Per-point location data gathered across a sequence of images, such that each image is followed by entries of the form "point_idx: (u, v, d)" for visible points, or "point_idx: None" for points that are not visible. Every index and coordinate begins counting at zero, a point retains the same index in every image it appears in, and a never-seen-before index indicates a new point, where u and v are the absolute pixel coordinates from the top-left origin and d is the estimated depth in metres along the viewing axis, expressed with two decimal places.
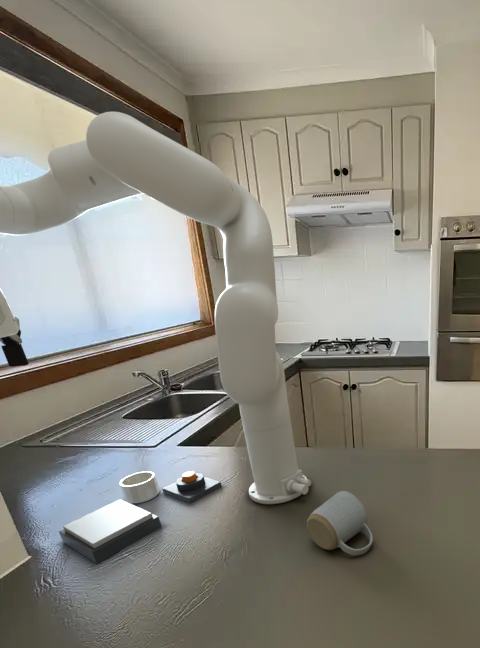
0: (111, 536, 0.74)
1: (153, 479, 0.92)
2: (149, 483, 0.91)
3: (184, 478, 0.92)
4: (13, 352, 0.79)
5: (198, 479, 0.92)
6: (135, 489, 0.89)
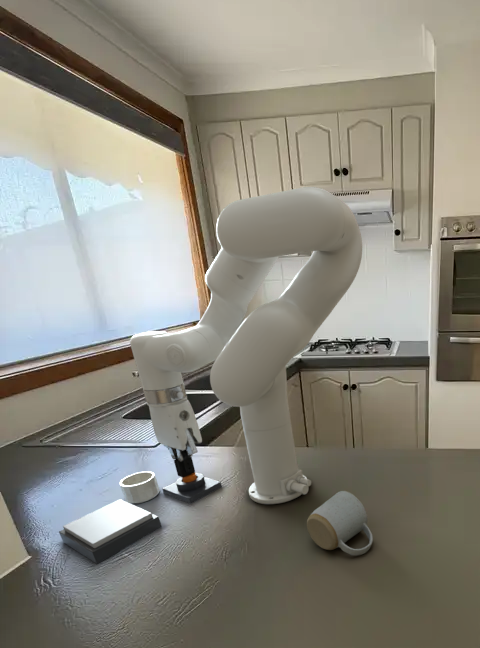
0: (111, 536, 0.74)
1: (153, 479, 0.92)
2: (149, 483, 0.91)
3: (184, 478, 0.92)
4: None
5: (198, 479, 0.92)
6: (135, 489, 0.89)
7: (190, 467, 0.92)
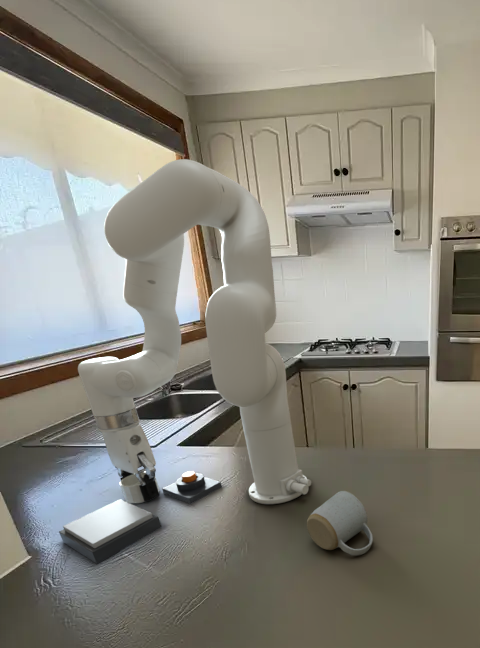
0: (111, 536, 0.74)
1: None
2: None
3: (184, 478, 0.92)
4: None
5: (198, 479, 0.92)
6: (135, 489, 0.89)
7: (153, 491, 0.90)
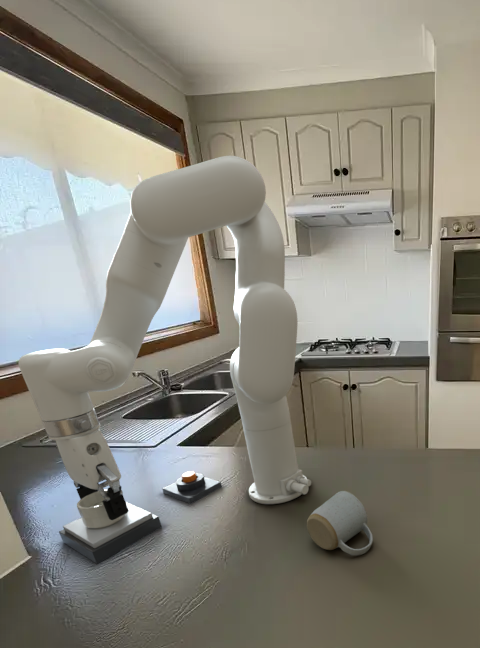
0: (111, 536, 0.74)
1: None
2: None
3: (184, 478, 0.92)
4: (90, 491, 0.80)
5: (198, 479, 0.92)
6: (95, 511, 0.74)
7: (121, 507, 0.75)
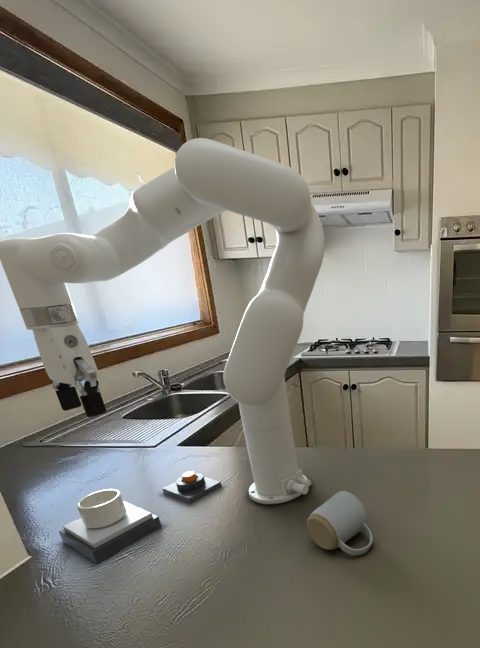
0: (111, 536, 0.74)
1: (118, 499, 0.77)
2: (112, 504, 0.76)
3: (184, 478, 0.92)
4: (69, 395, 0.81)
5: (198, 479, 0.92)
6: (95, 511, 0.74)
7: (98, 405, 0.76)
